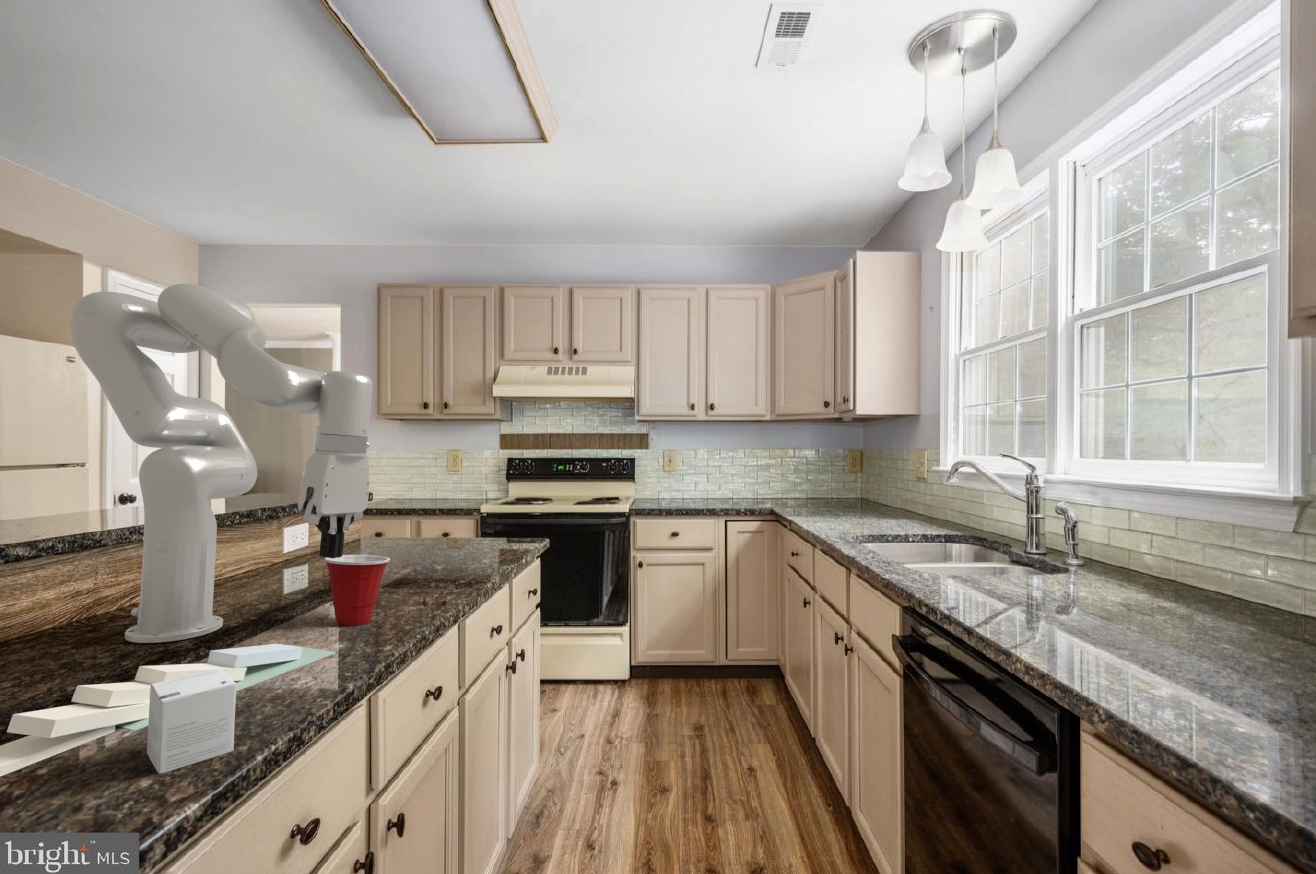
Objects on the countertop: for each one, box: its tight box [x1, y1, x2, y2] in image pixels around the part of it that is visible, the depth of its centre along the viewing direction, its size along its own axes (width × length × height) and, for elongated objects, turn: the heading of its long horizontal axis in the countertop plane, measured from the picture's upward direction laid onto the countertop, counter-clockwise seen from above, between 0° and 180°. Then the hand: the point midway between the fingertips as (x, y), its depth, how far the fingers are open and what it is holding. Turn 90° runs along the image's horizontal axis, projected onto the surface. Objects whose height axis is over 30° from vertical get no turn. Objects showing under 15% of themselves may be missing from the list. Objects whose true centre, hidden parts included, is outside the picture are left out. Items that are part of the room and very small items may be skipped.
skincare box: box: [146, 669, 237, 774], centre depth 58 cm, size 6×6×7 cm
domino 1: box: [6, 703, 150, 738], centre depth 60 cm, size 5×2×10 cm
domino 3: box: [70, 681, 151, 707], centre depth 66 cm, size 5×2×10 cm
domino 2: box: [0, 725, 116, 777], centre depth 57 cm, size 5×2×10 cm
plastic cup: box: [324, 554, 391, 627], centre depth 104 cm, size 11×11×12 cm
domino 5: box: [206, 643, 302, 668], centre depth 80 cm, size 5×2×10 cm
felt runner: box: [115, 644, 337, 732], centre depth 76 cm, size 10×26×1 cm, turn 163°
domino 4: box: [134, 662, 247, 684], centre depth 72 cm, size 5×2×10 cm
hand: (330, 556), depth 93 cm, fingers closed
